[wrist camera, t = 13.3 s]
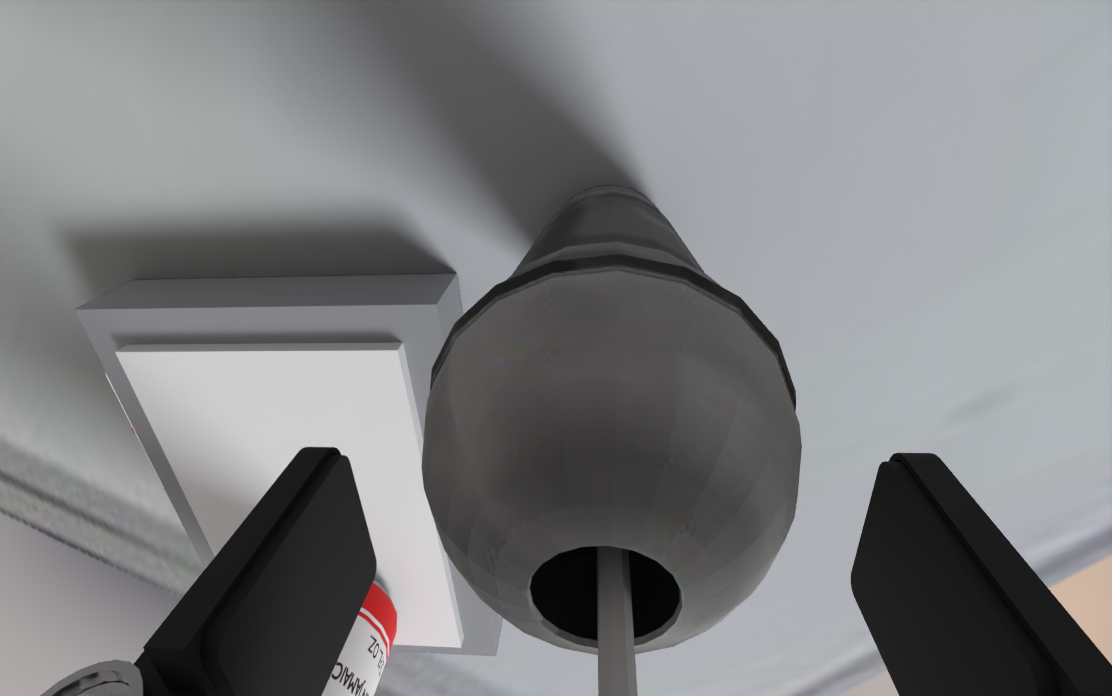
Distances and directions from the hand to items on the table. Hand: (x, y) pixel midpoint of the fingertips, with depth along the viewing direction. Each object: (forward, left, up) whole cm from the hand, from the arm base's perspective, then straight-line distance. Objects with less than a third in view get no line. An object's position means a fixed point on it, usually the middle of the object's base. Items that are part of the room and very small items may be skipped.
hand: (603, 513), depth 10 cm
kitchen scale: (+10, -13, -13) cm, 21 cm away
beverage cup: (-1, 0, -13) cm, 13 cm away
